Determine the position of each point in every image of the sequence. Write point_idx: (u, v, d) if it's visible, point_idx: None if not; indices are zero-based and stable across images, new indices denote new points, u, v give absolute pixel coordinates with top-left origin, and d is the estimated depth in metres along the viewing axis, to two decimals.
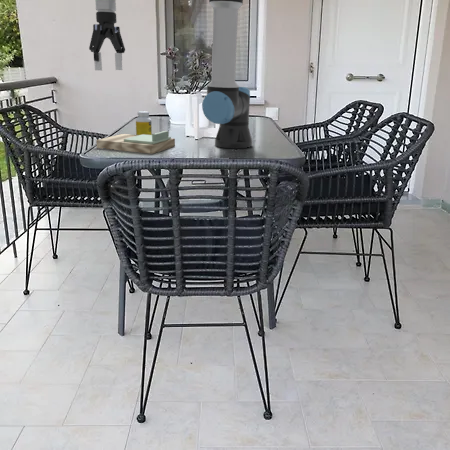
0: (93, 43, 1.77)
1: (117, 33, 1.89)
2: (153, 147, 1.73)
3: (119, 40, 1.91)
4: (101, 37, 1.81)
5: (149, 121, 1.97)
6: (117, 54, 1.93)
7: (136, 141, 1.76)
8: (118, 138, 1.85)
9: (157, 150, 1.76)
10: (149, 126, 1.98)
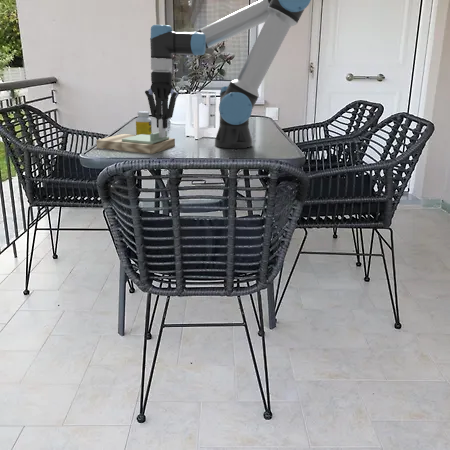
0: None
1: None
2: (153, 147, 1.73)
3: None
4: None
5: (149, 121, 1.97)
6: None
7: (134, 141, 1.77)
8: (118, 138, 1.85)
9: (157, 150, 1.76)
10: (149, 126, 1.98)
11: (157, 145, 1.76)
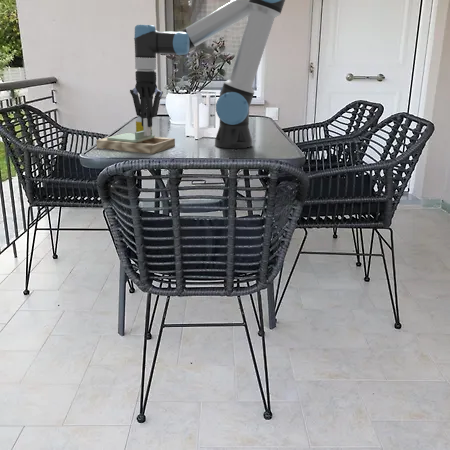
0: None
1: None
2: (153, 147, 1.73)
3: None
4: None
5: None
6: None
7: (119, 139, 1.79)
8: None
9: (157, 150, 1.76)
10: None
11: (157, 145, 1.76)
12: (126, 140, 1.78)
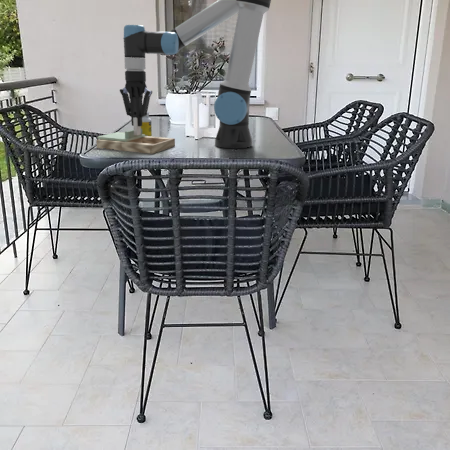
0: None
1: None
2: (153, 147, 1.73)
3: None
4: None
5: (149, 121, 1.97)
6: None
7: (109, 138, 1.80)
8: None
9: (157, 150, 1.76)
10: (149, 126, 1.98)
11: (157, 145, 1.76)
12: (116, 139, 1.79)
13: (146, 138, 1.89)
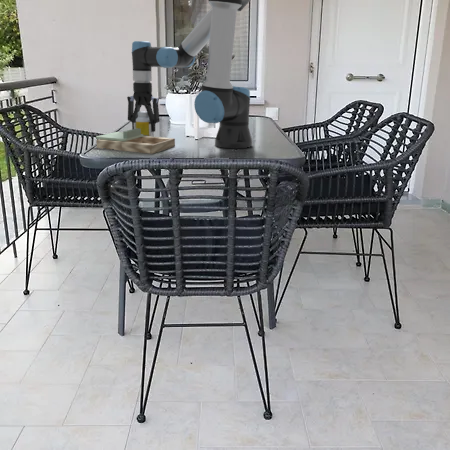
0: None
1: None
2: (153, 147, 1.73)
3: None
4: None
5: (149, 121, 1.97)
6: None
7: (108, 138, 1.80)
8: None
9: (157, 150, 1.76)
10: None
11: (157, 145, 1.76)
12: (114, 139, 1.79)
13: (146, 138, 1.89)
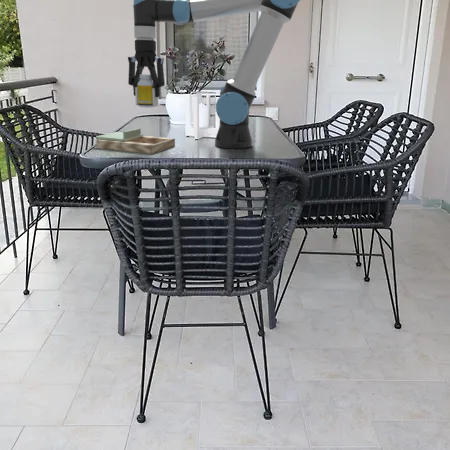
0: None
1: None
2: (153, 147, 1.73)
3: None
4: None
5: (153, 85, 1.74)
6: None
7: (108, 138, 1.80)
8: None
9: (157, 150, 1.76)
10: None
11: (157, 145, 1.76)
12: (114, 139, 1.79)
13: (146, 138, 1.89)
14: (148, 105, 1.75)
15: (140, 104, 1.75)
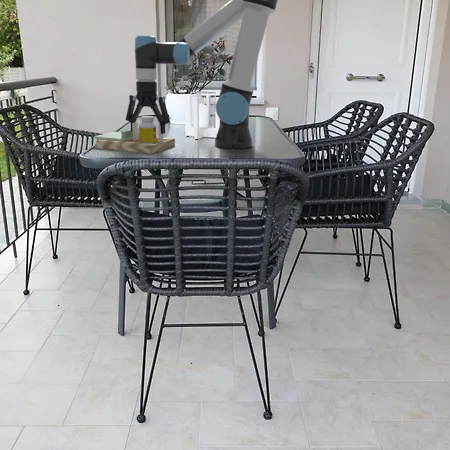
0: None
1: None
2: (153, 147, 1.73)
3: None
4: None
5: (154, 127, 1.79)
6: None
7: (106, 138, 1.81)
8: None
9: (157, 150, 1.76)
10: (154, 132, 1.80)
11: (157, 145, 1.76)
12: (112, 139, 1.80)
13: None
14: None
15: None
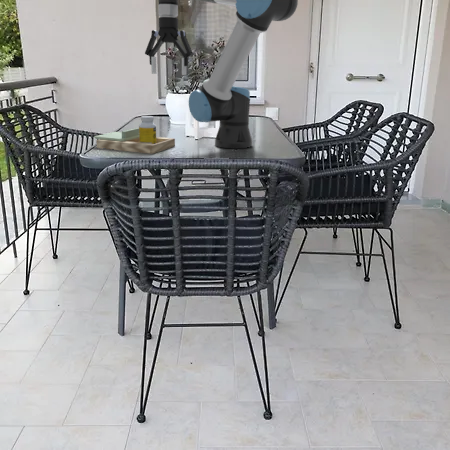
0: None
1: None
2: (153, 147, 1.73)
3: None
4: None
5: (154, 127, 1.79)
6: None
7: (106, 138, 1.81)
8: None
9: (157, 150, 1.76)
10: (154, 132, 1.80)
11: (157, 145, 1.76)
12: (113, 139, 1.80)
13: None
14: None
15: None
